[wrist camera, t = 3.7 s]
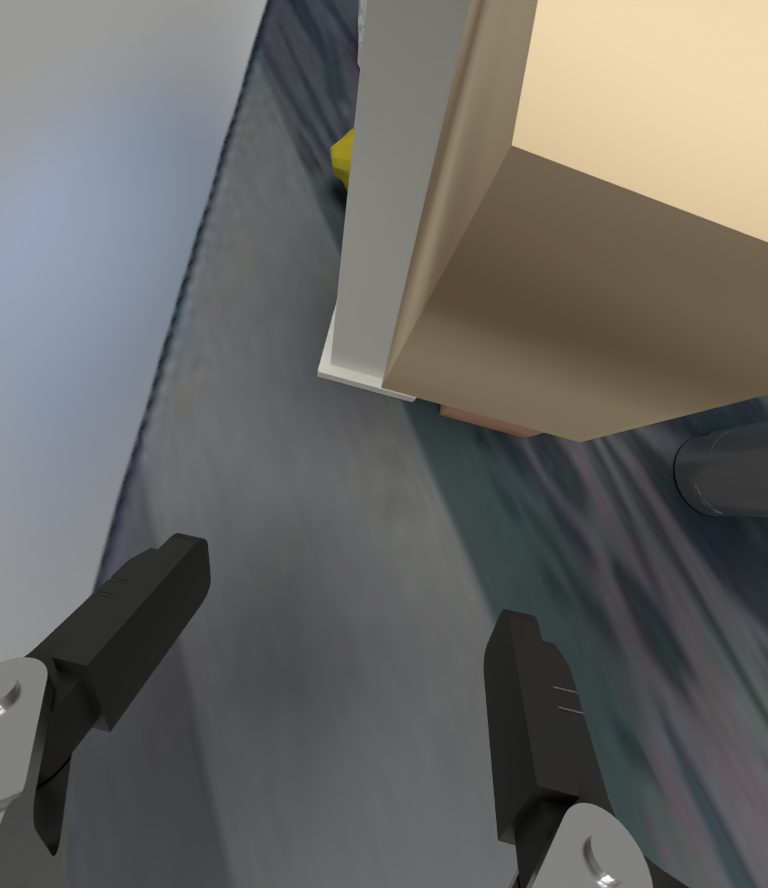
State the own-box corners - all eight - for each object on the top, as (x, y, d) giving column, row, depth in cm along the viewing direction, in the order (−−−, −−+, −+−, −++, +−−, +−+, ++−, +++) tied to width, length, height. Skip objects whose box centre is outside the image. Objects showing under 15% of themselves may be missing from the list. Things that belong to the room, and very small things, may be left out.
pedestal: (412, 402, 39) (779, -4, 8) (317, 376, 38) (326, -223, 7) (430, 316, 41) (779, -269, 10) (341, 289, 40) (429, -477, 9)
